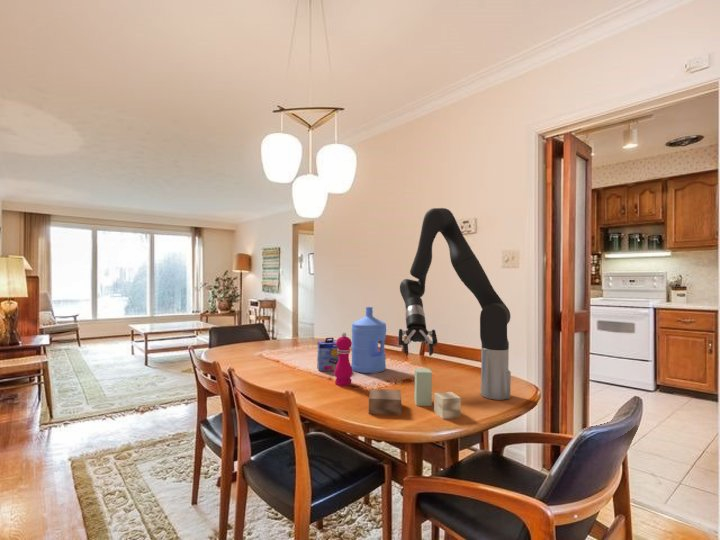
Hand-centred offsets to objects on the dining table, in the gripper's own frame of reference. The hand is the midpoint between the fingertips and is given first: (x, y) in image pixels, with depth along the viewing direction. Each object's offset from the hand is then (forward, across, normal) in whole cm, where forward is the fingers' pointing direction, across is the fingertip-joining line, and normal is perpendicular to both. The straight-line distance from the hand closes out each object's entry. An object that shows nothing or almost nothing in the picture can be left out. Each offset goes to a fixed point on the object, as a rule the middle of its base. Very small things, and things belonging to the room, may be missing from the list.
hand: (419, 354), depth 139 cm
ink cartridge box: (-13, -36, +33) cm, 51 cm away
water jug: (-14, -18, +34) cm, 41 cm away
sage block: (+17, 0, +3) cm, 18 cm away
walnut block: (+22, -13, -1) cm, 26 cm away
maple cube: (+24, +6, -4) cm, 26 cm away
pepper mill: (+3, -28, +18) cm, 33 cm away
